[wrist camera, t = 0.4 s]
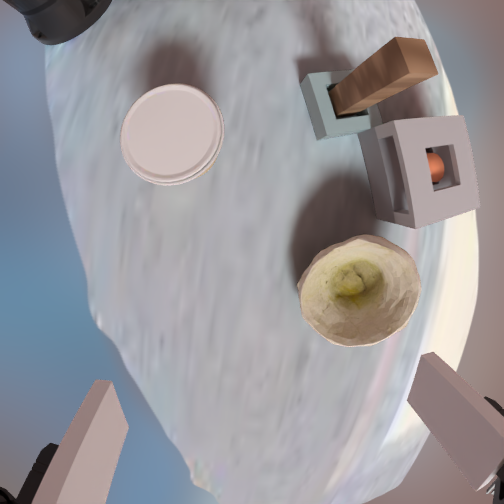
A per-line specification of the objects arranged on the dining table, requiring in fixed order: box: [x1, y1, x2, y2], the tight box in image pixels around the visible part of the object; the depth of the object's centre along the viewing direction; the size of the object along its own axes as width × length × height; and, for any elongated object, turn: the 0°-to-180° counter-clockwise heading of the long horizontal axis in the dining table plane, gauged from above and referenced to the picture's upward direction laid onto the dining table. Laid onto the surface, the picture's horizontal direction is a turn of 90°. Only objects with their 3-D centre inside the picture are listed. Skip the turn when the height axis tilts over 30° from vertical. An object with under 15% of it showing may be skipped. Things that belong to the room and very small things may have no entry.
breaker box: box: [358, 115, 480, 229], centre depth 32 cm, size 12×12×10 cm
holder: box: [300, 69, 383, 141], centre depth 32 cm, size 8×8×4 cm
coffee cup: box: [120, 83, 225, 185], centre depth 28 cm, size 9×9×12 cm
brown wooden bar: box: [328, 37, 438, 118], centre depth 24 cm, size 3×3×18 cm
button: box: [426, 153, 444, 182], centre depth 32 cm, size 4×4×5 cm
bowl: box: [297, 234, 421, 347], centre depth 34 cm, size 15×14×10 cm
